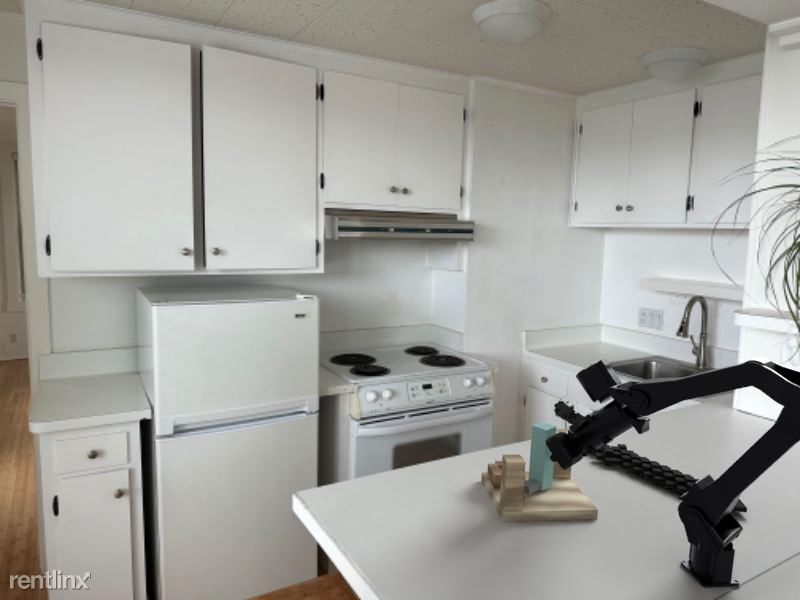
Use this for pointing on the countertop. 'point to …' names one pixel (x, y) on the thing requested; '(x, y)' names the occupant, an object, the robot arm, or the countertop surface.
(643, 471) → the black segmented strip
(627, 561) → the countertop surface
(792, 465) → the countertop surface
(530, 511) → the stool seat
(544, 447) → the folding leg
